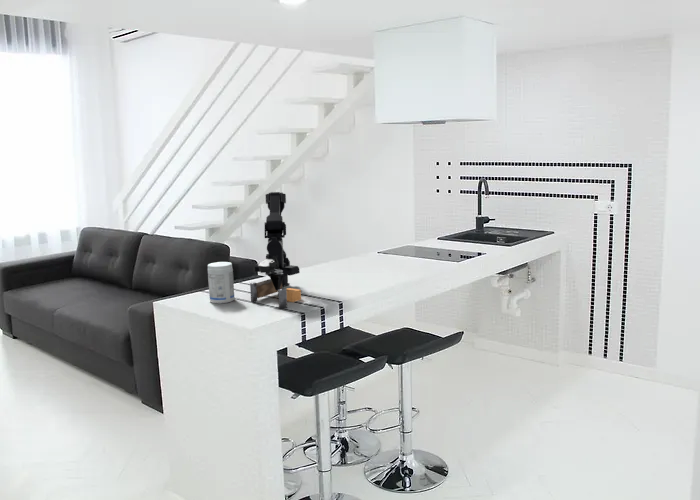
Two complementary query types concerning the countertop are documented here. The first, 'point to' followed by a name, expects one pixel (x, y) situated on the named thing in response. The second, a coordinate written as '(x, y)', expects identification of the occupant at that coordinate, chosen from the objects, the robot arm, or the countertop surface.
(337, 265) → the countertop surface
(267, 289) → the gate
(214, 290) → the supplement tub
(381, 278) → the countertop surface
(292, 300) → the orange-brown rectangular block
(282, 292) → the gate posts
